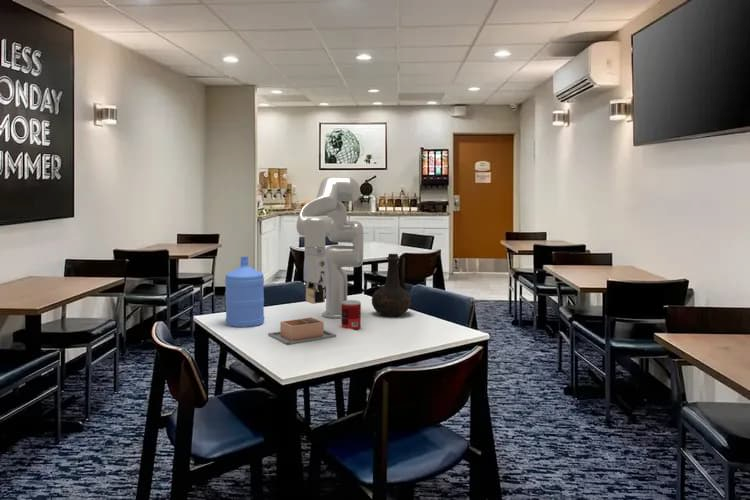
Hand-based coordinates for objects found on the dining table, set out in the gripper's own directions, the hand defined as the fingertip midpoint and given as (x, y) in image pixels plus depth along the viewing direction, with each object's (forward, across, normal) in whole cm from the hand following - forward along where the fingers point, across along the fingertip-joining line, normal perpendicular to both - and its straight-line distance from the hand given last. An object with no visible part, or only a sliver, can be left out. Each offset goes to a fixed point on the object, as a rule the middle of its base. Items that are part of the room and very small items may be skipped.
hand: (315, 300), depth 196 cm
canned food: (+16, +8, -22) cm, 28 cm away
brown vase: (+16, +18, -52) cm, 58 cm away
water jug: (+16, +41, +9) cm, 45 cm away
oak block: (+1, 0, 0) cm, 1 cm away
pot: (+14, +6, +2) cm, 15 cm away
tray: (+15, +6, +2) cm, 16 cm away
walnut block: (+14, +5, -1) cm, 15 cm away
